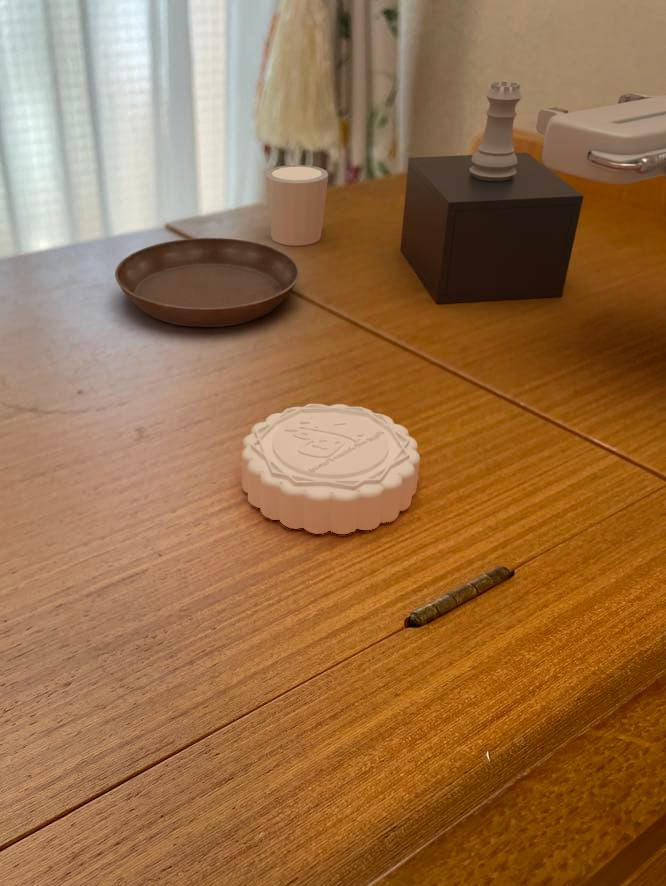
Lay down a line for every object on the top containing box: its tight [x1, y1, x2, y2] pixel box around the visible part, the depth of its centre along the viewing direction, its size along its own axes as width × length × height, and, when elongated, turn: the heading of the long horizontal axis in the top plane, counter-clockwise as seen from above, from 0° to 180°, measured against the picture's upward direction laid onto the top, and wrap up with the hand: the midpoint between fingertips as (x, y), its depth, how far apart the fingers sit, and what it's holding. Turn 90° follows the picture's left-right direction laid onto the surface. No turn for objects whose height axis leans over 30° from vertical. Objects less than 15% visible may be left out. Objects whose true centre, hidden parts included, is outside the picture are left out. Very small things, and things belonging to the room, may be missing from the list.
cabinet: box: [399, 152, 585, 305], centre depth 87 cm, size 15×13×10 cm
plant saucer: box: [114, 237, 301, 328], centre depth 84 cm, size 18×18×3 cm
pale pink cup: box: [265, 164, 329, 247], centre depth 97 cm, size 7×7×7 cm
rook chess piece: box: [470, 80, 523, 182], centre depth 82 cm, size 4×4×8 cm
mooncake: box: [240, 403, 421, 534], centre depth 59 cm, size 12×12×4 cm
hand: (584, 111), depth 73 cm, fingers open, 8 cm apart
